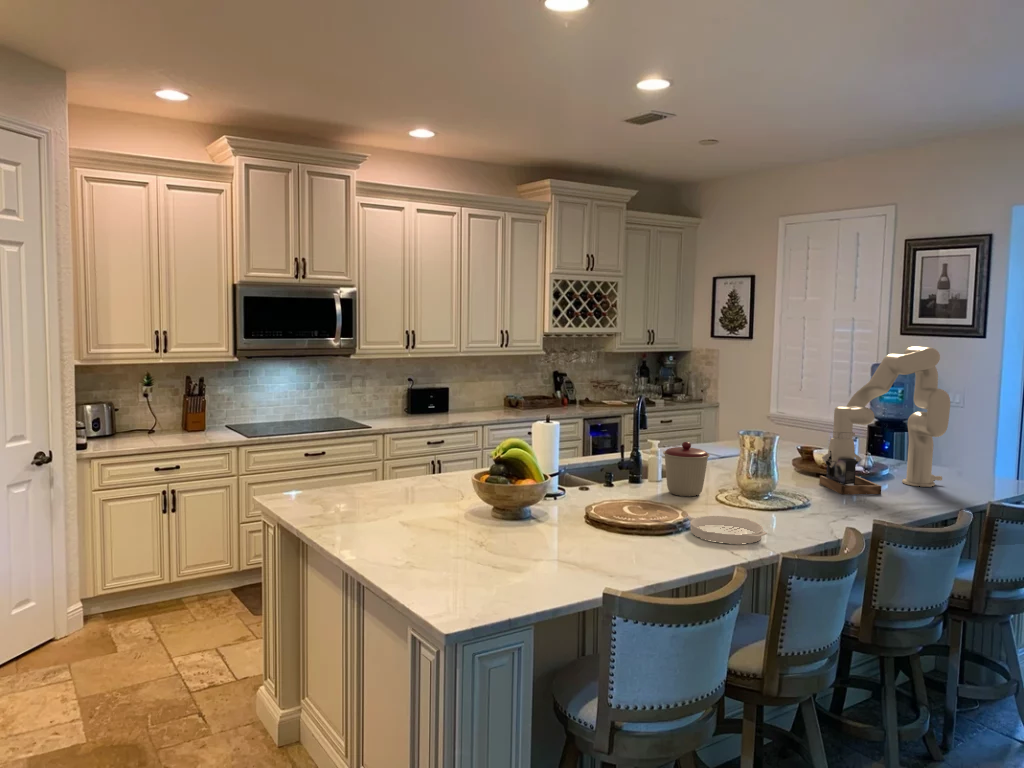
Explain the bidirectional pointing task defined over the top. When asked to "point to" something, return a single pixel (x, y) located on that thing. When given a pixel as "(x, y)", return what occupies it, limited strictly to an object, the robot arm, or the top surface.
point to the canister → (685, 469)
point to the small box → (843, 471)
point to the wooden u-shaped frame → (852, 486)
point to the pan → (727, 522)
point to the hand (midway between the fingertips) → (840, 475)
